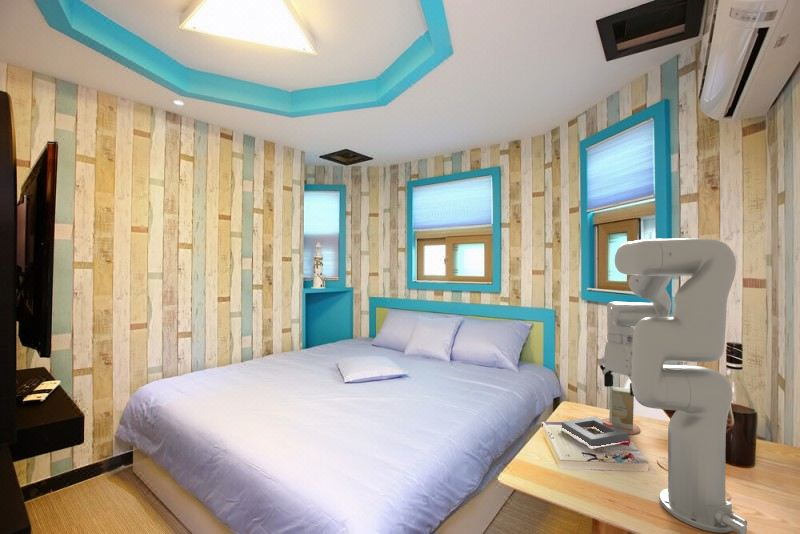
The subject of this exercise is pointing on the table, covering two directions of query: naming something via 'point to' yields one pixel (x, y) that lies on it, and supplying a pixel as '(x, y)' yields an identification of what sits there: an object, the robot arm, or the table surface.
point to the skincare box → (621, 407)
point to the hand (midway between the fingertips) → (621, 390)
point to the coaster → (631, 432)
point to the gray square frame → (608, 437)
